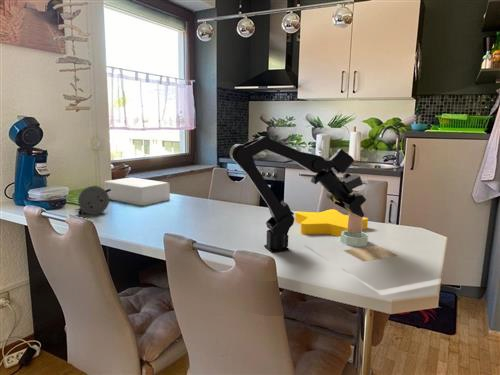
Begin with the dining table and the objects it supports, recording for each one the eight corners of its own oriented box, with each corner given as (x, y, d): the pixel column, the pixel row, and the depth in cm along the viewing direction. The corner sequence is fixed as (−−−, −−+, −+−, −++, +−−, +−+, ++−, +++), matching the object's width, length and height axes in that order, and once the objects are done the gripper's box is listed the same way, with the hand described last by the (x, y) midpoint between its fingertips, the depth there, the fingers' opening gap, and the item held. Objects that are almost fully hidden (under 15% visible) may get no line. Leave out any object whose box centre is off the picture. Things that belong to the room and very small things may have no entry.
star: (344, 208, 164) (385, 225, 137) (344, 217, 165) (384, 237, 138) (283, 212, 156) (314, 231, 128) (283, 221, 157) (313, 243, 129)
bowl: (351, 250, 121) (352, 239, 121) (335, 241, 130) (336, 231, 129) (372, 247, 125) (373, 236, 124) (356, 239, 133) (356, 229, 132)
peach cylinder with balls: (356, 234, 123) (359, 196, 121) (344, 230, 126) (347, 193, 124) (364, 231, 126) (367, 194, 124) (352, 228, 130) (355, 192, 127)
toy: (123, 204, 157) (113, 195, 183) (105, 179, 153) (98, 174, 179) (87, 227, 151) (82, 215, 177) (68, 203, 147) (65, 194, 173)
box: (142, 206, 180) (142, 187, 178) (105, 198, 196) (104, 181, 194) (169, 200, 195) (169, 182, 194) (133, 193, 211) (132, 177, 209)
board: (362, 264, 109) (363, 261, 109) (342, 253, 118) (343, 250, 118) (398, 258, 114) (398, 255, 114) (376, 248, 124) (377, 245, 123)
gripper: (362, 170, 112) (391, 204, 117) (336, 163, 130) (362, 193, 135) (337, 195, 112) (366, 228, 116) (315, 185, 130) (341, 213, 134)
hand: (359, 214), depth 125 cm, fingers closed on peach cylinder with balls, 5 cm apart
